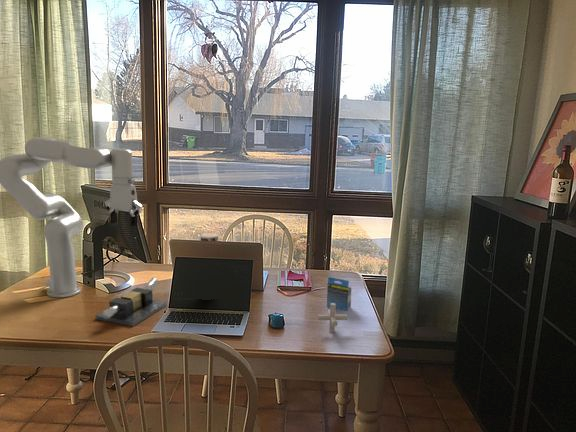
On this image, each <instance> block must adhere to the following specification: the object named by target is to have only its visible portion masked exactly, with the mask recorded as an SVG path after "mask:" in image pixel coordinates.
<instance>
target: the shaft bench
mask: <svg viewBox="0 0 576 432" xmlns="http://www.w3.org/2000/svg"><path fill="white" fill-rule="evenodd" d="M158 284H159V280H158V279H157V278H156V277H151V279H150V280H149V281H148V282H147V283H146V284H145V286H143V288H140V287H136V288H134V289H131V290H130V291H129V292H131V291H134V292H140V293H141V295H142V308H141V309H139V310H137V311H136V312H134V313H133V301H132V300H127V299H121V297H120V298H119V297H115V298H114V299H112V300H110V301H108V302H109V308H106V309H105V310H102V311H100V312H99V313H97V314H95V319H96V320H99V321H104V322H108V323H109V322H110V323H114V324H119V325H124V326H129V327H134V326H136V325H137V324H139V323H141V322H142V321H144V320H146V319H147V318H149V317H151V316H153V315H154V314H155V313H157V312H158V311H161V310H162V309H164V308H165V307H167V302H166V301H160V300H155V299H154V298H153V290H154V288H155V287H156V286H157V285H158Z"/></svg>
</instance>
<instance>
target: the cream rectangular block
mask: <svg viewBox="0 0 576 432" xmlns="http://www.w3.org/2000/svg"><path fill="white" fill-rule="evenodd" d="M130 291H131V290H130ZM130 291H129V292H126V293H125V294H123V295H121V296H120V298H121V299H127V300H132V301H133V313H134V312H136V311H137V310H139V309H141V308H142V295H141V293H140V292H134V291H131V292H130Z"/></svg>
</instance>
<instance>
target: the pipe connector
mask: <svg viewBox="0 0 576 432" xmlns="http://www.w3.org/2000/svg"><path fill="white" fill-rule="evenodd" d="M336 309H337V308H336V304H335V303H331V304H330V307H329V309H328V310H327V314H318V315H317V321H329V324H328V325H329V328H328V329H329V330H328V331H329V333H335V331H336V329H335V328H336V327H338V321H348V314H336Z"/></svg>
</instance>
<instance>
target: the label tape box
mask: <svg viewBox="0 0 576 432" xmlns="http://www.w3.org/2000/svg"><path fill="white" fill-rule="evenodd" d="M338 282H339V283H338ZM349 282H350V281H349V280H346V279H341V278H336V277H332V276H328V278H327V290H326V292H327V294H326V295H327V296H326V307H329V308H330V304H331V303H335V304H336V308H335V309H339V310H343V311H349V310H350V309H351V307H352V306H351V305H352V287H350V286H349Z"/></svg>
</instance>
